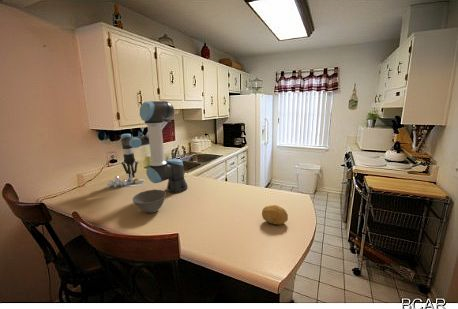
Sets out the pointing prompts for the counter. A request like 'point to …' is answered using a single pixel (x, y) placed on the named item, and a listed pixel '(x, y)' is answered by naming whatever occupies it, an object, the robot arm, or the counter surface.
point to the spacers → (119, 182)
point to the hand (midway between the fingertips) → (132, 181)
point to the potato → (274, 214)
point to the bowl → (149, 200)
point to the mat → (127, 184)
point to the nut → (136, 181)
